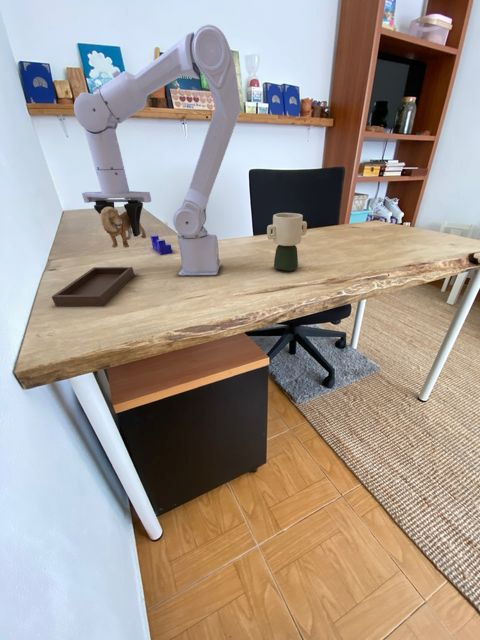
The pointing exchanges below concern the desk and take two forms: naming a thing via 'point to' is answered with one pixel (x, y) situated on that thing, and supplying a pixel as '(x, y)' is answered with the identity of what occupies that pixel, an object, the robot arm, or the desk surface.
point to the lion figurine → (118, 225)
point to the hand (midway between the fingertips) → (126, 235)
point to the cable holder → (160, 245)
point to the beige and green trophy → (286, 239)
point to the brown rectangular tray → (94, 287)
